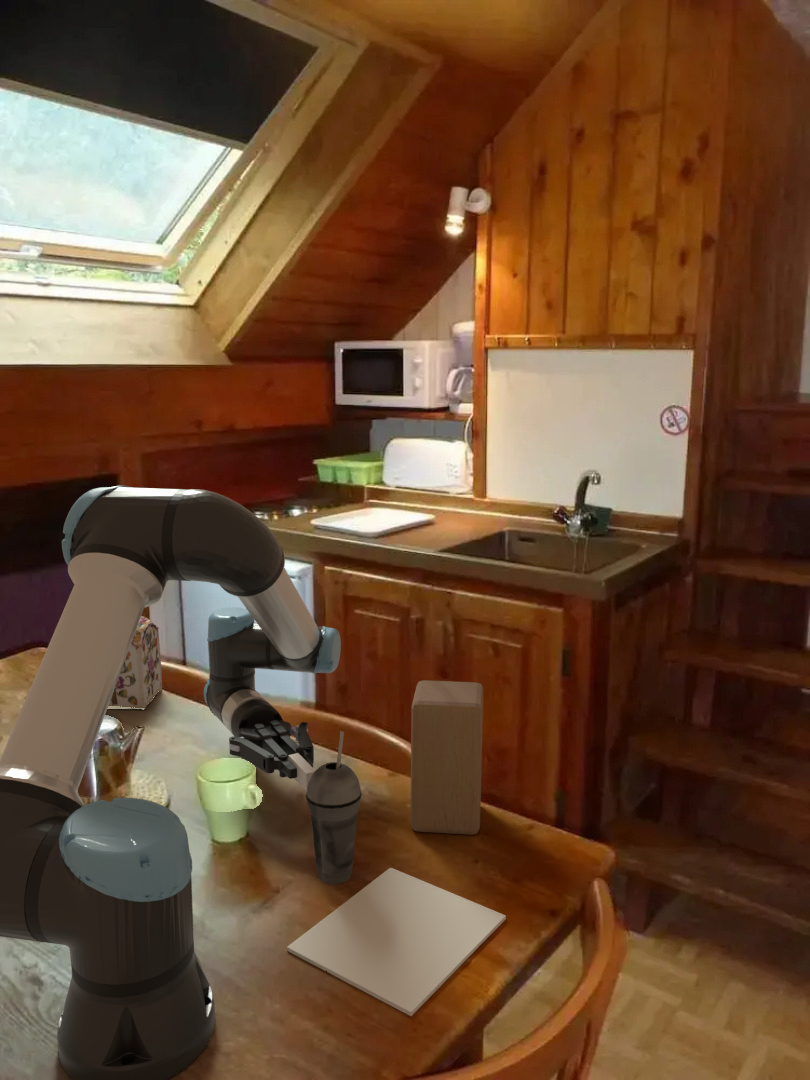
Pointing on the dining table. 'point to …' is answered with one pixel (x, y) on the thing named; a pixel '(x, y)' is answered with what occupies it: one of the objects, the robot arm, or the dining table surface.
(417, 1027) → the dining table surface
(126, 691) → the decorative jar
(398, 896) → the mat
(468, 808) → the block
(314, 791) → the tumbler with straw
